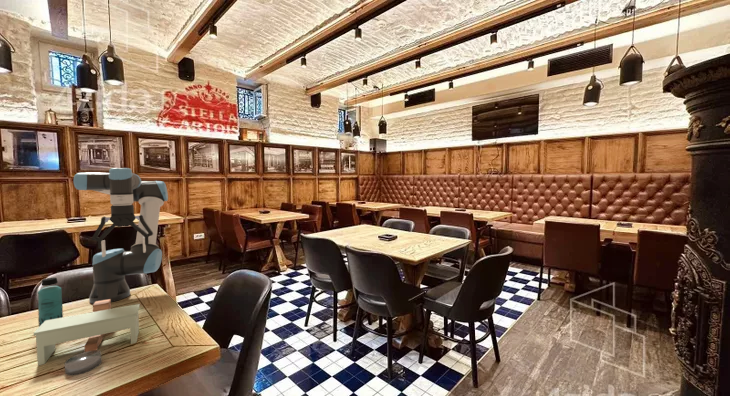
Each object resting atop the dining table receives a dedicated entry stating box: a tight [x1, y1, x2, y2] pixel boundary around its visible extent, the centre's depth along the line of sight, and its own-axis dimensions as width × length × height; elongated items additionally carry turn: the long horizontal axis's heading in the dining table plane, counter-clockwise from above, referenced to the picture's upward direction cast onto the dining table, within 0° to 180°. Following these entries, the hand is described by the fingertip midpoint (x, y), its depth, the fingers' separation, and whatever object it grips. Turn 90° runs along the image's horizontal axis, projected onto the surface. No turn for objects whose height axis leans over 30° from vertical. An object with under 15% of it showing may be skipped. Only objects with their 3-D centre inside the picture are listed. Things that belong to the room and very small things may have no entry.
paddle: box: [84, 299, 112, 352], centre depth 107 cm, size 22×4×10 cm, turn 33°
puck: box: [64, 349, 103, 376], centre depth 90 cm, size 8×8×3 cm
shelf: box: [32, 303, 141, 366], centre depth 101 cm, size 10×25×10 cm, turn 123°
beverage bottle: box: [37, 277, 64, 328], centre depth 113 cm, size 6×7×20 cm
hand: (124, 254), depth 127 cm, fingers open, 13 cm apart
